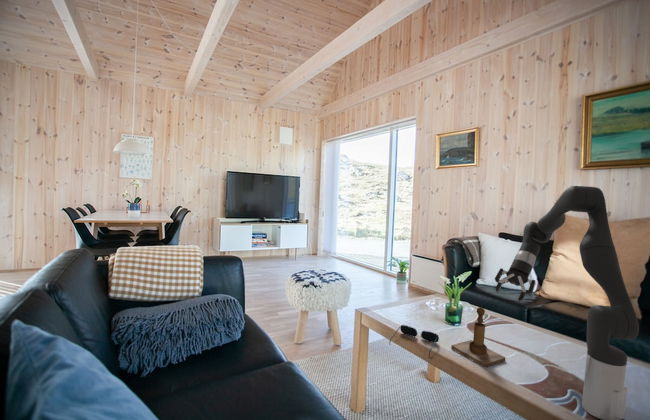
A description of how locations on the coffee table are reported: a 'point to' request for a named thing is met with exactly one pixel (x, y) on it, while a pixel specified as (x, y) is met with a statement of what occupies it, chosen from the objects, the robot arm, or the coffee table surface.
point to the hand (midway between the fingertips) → (507, 296)
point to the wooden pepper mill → (479, 335)
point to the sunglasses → (424, 334)
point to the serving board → (483, 360)
